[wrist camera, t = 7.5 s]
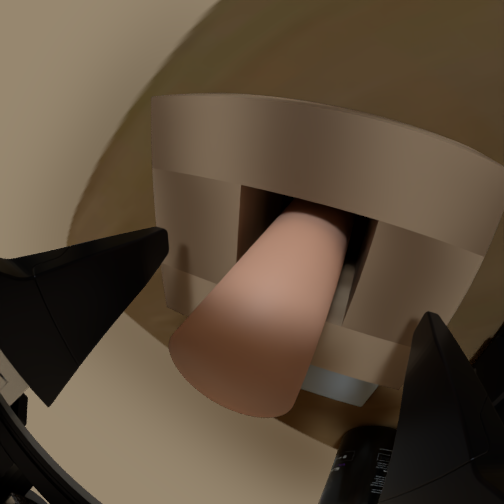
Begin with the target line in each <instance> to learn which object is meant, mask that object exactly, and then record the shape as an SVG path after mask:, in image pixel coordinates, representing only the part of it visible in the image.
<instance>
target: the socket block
mask: <svg viewBox="0 0 504 504" xmlns="http://www.w3.org/2000/svg"><path fill="white" fill-rule="evenodd" d="M151 144H152V171H153V189H154V203H155V215H156V226H157V227H161V228H164V229H166V230H167V232H168V240H169V253H168V255H167V257H166V258H165V259H164V261H163V262H162V263H161V270H162V278H163V285H164V292H165V298H166V304H167V307H168V308H170V309H172V310H174V311H177V312H179V313H181V314H183V315H185V316H189V315H190V314H191V313H192V312H193V311H194V310H195V309H196V308H197V306H198V305H199V304H200V303H201V302H202V301H203V300H204V299H205V297H206V296H207V295H208V294H209V293H210V292H211V291H212V290H213V289H214V287H215V286H216V285H217V284H218V283H219V282H220V281H221V280H222V278H223V277H224V276H225V275H226V274H227V273H228V272H229V271H230V270H231V268H232V267H233V266H234V265H235V264H236V263H237V262H238V261H239V260H240V258H241V257H242V256H243V255H244V254H245V253H246V252H247V251H248V250H249V248H250V247H251V246H252V245H253V244H254V243H255V242H256V241H257V240H258V238H259V237H260V236H261V235H262V234H263V233H264V232H265V231H266V230H267V228H268V227H269V226H270V225H271V224H272V223H273V222H274V221H275V220H276V218H277V217H278V216H279V215H280V213H281V206H282V198H283V195H288V196H292V197H296V198H300V199H304V200H307V201H311V202H315V203H319V204H323V205H327V206H330V207H334V208H338V209H341V210H345V211H348V212H352V213H355V214H359V215H362V216H366V217H369V221H368V225H367V229H366V232H365V235H364V239H363V242H362V245H361V249H360V252H359V255H358V258H357V260H355V259H351V258H348V257H345V259H344V263H343V266H342V270H341V273H340V277H339V280H338V283H337V287H336V290H335V293H334V296H333V300H332V303H331V306H330V309H329V312H328V315H327V318H326V321H325V324H324V327H323V330H322V333H321V336H320V338H319V341H318V344H317V347H316V350H315V352H314V355H313V358H312V360H311V363H310V364H311V365H314V366H317V367H320V368H323V369H326V370H329V371H332V372H336V373H339V374H342V375H345V376H349V377H352V378H356V379H359V380H363V381H366V382H370V383H373V384H377V385H381V386H385V387H389V388H393V389H397V390H399V389H400V388H401V387H402V385H403V384H404V379H405V374H406V369H407V364H408V359H409V354H410V349H411V343H412V337H413V333H414V331H415V329H416V327H417V325H418V324H419V322H420V320H421V319H422V317H423V315H424V314H425V313H426V312H427V311H430V312H433V313H437V314H438V315H439V316H440V317H441V319H442V320H443V322H444V323H445V325H446V326H447V324H448V323H449V321H450V319H451V318H452V316H453V315H454V313H455V311H456V310H457V308H458V306H459V305H460V303H461V301H462V299H463V298H464V296H465V294H466V292H467V291H468V289H469V287H470V285H471V283H472V281H473V279H474V277H475V275H476V274H477V272H478V270H479V267H480V265H481V263H482V261H483V259H484V257H485V255H486V253H487V250H488V248H489V246H490V244H491V241H492V239H493V237H494V234H495V232H496V229H497V227H498V224H499V222H500V219H501V216H502V213H503V211H504V166H502V165H501V164H499V163H497V162H496V161H494V160H492V159H491V158H489V157H487V156H485V155H483V154H482V153H480V152H478V151H476V150H474V149H472V148H470V147H468V146H466V145H463V144H461V143H459V142H456V141H454V140H451V139H448V138H446V137H443V136H440V135H438V134H435V133H432V132H429V131H426V130H423V129H421V128H417V127H414V126H411V125H408V124H405V123H402V122H398V121H395V120H391V119H388V118H384V117H380V116H376V115H372V114H368V113H364V112H360V111H356V110H351V109H347V108H342V107H337V106H332V105H326V104H321V103H315V102H309V101H302V100H295V99H288V98H280V97H271V96H261V95H249V94H233V93H196V94H178V95H165V96H154V97H151Z"/></svg>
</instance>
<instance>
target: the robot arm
mask: <svg viewBox="0 0 504 504" xmlns="http://www.w3.org/2000/svg"><path fill="white" fill-rule="evenodd" d="M168 253H169V240H168V232H167V230H166V229H164V228H161V227H152V228H147V229H142V230H137V231H133V232H128V233H124V234H119V235H115V236H110V237H106V238H101V239H97V240H93V241H89V242H84V243H80V244H76V245H72V246H71V247H70V246H68V247H64V248H60V249H56V250H51V251H47V252H42V253H38V254H33V255H28V256H23V257H18V258H13V259H3V258H0V504H47V503H46V502H45V501H44V500H43V499H42V498H41V497H40V496H38V495H37V494H36V493H34V492H33V491H31V490H30V489H31V488H32V486H34V487H35V488H36V489H37V490H38V492H40V494H41V495H42V496H43V497H44V498H45V499H46V500H47V501H48V502H49V503H50V504H102V503H101V502H99V501H98V500H97V499H96V498H94V497H93V496H92V495H91V494H90V493H89V492H87V491H86V490H85V489H84V488H83V487H82V486H81V485H79V484H78V483H77V482H76V481H75V480H74V479H73V478H72V477H71V476H70V475H69V474H67V473H66V472H65V471H64V470H63V469H62V468H61V467H60V466H59V465H58V464H57V463H56V462H55V461H54V460H53V459H52V457H51V456H50V455H49V454H48V453H47V452H46V451H45V450H44V449H43V448H42V447H41V445H40V444H39V443H38V442H37V441H36V440H35V438H34V437H33V436H32V435H31V434H30V432H29V431H28V430H27V429H26V427H25V425H26V420H27V402H28V397H27V396H26V395H25V394H24V391H26V390H27V389H28V388H29V387H30V388H31V389H32V390H33V391H34V392H35V394H36V395H37V396H38V397H39V398H40V399H41V400H42V401H43V402H44V403H45V404H46V406H47V407H49V406H51V404H52V403H53V402H54V400H55V399H56V397H57V396H58V394H59V393H60V392H61V391H62V389H63V388H64V386H65V385H66V384H67V383H68V381H69V380H70V378H71V377H72V376H73V374H74V373H75V372H76V371H77V369H78V368H79V366H80V365H81V364H82V362H83V361H84V360H85V359H86V357H87V356H88V355H89V353H90V352H91V351H92V349H93V348H94V347H95V346H96V345H97V343H98V342H99V341H100V340H101V338H102V337H103V336H104V334H105V333H106V332H107V331H108V330H109V328H110V327H111V326H112V325H113V323H114V322H115V321H116V320H117V319H118V317H119V316H120V315H121V314H122V313H123V311H124V310H125V309H126V308H127V307H128V306H129V304H130V303H131V302H132V301H133V300H134V298H135V297H136V296H137V295H138V294H139V293H140V292H141V290H142V289H143V288H144V287H145V286H146V284H147V283H148V282H149V280H150V279H151V277H152V276H153V275H154V273H155V272H156V270H157V269H158V268H159V266H160V265H161V263H162V262H163V261H164V259H165V258H166V257H167V255H168ZM378 504H504V326H503V327H502V329H501V330H500V331H499V333H498V334H497V336H496V337H495V338H494V340H493V341H492V342H491V344H490V345H489V346H488V347H487V349H486V350H485V351H484V353H483V354H482V355H481V356H480V358H479V359H478V360H477V361H476V362H475V364H474V365H473V366H471V364H470V362H469V361H468V359H467V357H466V356H465V354H464V353H463V351H462V349H461V348H460V346H459V345H458V343H457V341H456V340H455V338H454V337H453V335H452V334H451V332H450V331H449V329H448V328H447V326H446V325H445V323H444V322H443V320H442V319H441V317H440V316H439V315H438V314H437V313H433V312H430V311H427V312H426V313H425V314H424V315H423V317H422V319H421V320H420V322H419V324H418V325H417V327H416V329H415V331H414V333H413V337H412V343H411V349H410V354H409V359H408V364H407V369H406V374H405V379H404V387H403V395H402V402H401V409H400V415H399V421H398V426H397V432H396V437H395V442H394V446H393V451H392V455H391V459H390V463H389V467H388V471H387V475H386V479H385V482H384V485H383V489H382V492H381V495H380V498H379V503H378Z"/></svg>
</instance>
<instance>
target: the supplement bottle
mask: <svg viewBox="0 0 504 504" xmlns="http://www.w3.org/2000/svg"><path fill="white" fill-rule="evenodd" d="M396 432H397V430H395V429H392V428H388V427H381V426H366V427H359V428H355V429H352V430H350V431H348V432H347V433H346V434H345V435H344V436H343V437H342V440H341V443H340V446H339V448H338V451H337V454H336V458H335V460H334V463H333V466H332V469H331V472H330V474H329V477H328V480H327V482H326V485H325V488H324V490H323V493H322V495H321V498H320V500H319V503H318V504H378V503H379V498H380V495H381V492H382V489H383V485H384V482H385V479H386V475H387V471H388V467H389V463H390V459H391V455H392V451H393V446H394V442H395V437H396Z"/></svg>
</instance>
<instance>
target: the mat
mask: <svg viewBox="0 0 504 504" xmlns="http://www.w3.org/2000/svg"><path fill="white" fill-rule="evenodd" d="M377 387H378V385H377V384H373V383H370V382H366V381H363V380H359V379H356V378H352V377H349V376H345V375H342V374H339V373H336V372H332V371H329V370H326V369H323V368H320V367H317V366H314V365H311V364H310V366H309V368H308V371H307V374H306V376H305V379H304V381H303V384H302V386H301V389H303V390H306V391H309V392H312V393H315V394H318V395H321V396H325V397H328V398H331V399H334V400H338V401H341V402H345V403H348V404H352V405H355V406H359V407H362V406H363V404H364V403H365V402H366V401H367V399H368V398H369V397H370V396H371V394H372V393H373V392H374V391H375V389H376V388H377Z"/></svg>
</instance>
